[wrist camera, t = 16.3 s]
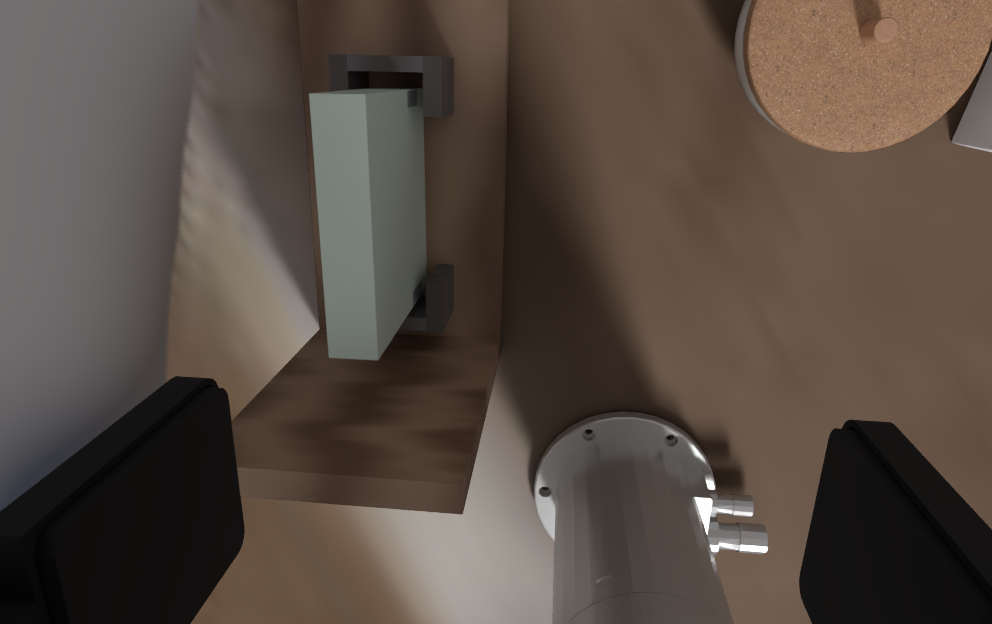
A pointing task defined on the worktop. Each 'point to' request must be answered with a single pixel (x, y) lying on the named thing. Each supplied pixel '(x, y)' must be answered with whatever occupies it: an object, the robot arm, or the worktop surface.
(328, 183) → the door
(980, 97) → the milk
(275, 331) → the worktop surface
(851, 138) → the lidded jar
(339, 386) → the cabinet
